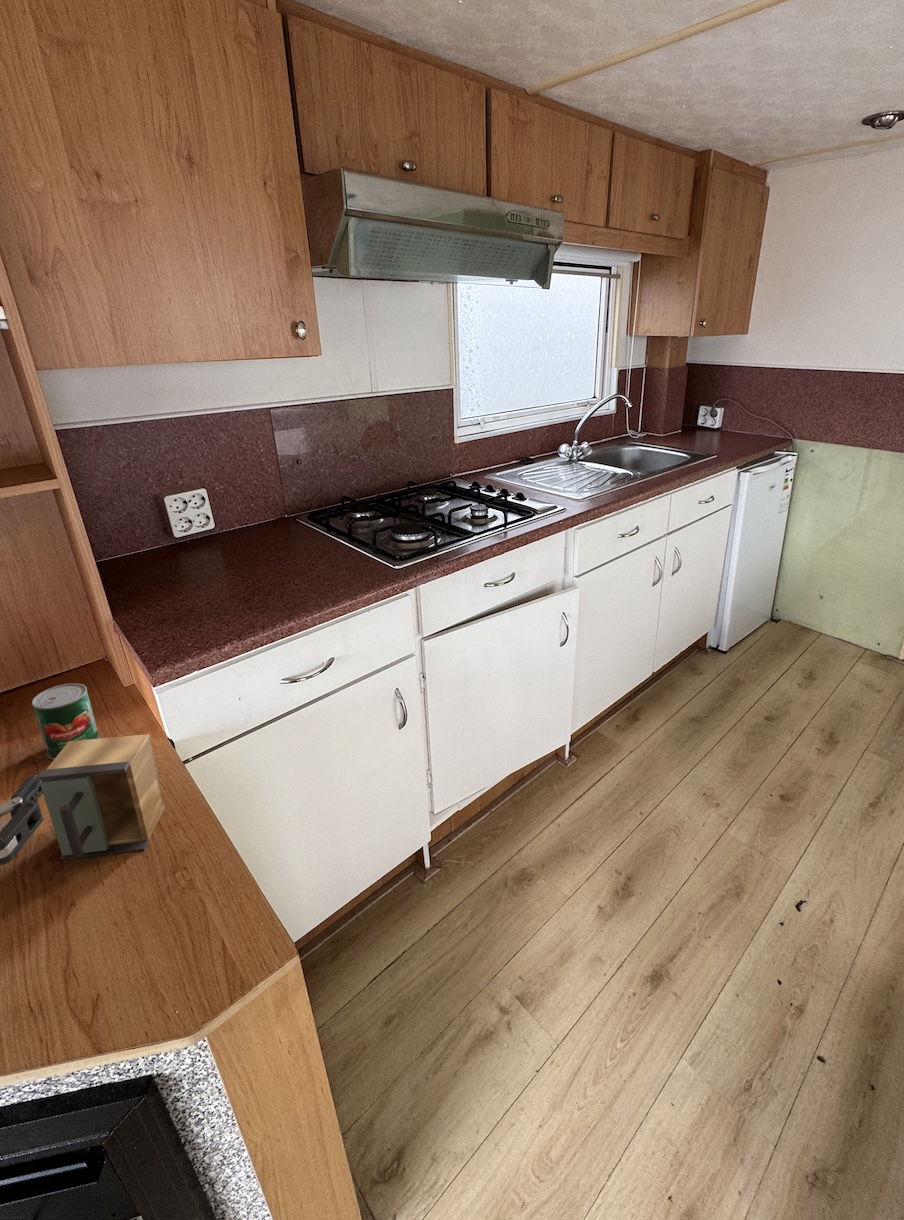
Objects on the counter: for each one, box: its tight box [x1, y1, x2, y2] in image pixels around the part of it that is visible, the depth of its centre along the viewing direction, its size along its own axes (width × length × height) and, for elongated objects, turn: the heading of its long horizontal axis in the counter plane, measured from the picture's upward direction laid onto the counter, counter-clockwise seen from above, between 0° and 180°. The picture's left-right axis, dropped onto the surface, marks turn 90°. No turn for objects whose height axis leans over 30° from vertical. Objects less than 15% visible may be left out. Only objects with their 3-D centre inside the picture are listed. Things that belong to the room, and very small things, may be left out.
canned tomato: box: [31, 682, 101, 760], centre depth 104 cm, size 8×8×11 cm
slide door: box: [41, 776, 108, 857], centre depth 79 cm, size 6×5×13 cm
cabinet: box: [37, 733, 166, 861], centre depth 85 cm, size 11×9×15 cm
